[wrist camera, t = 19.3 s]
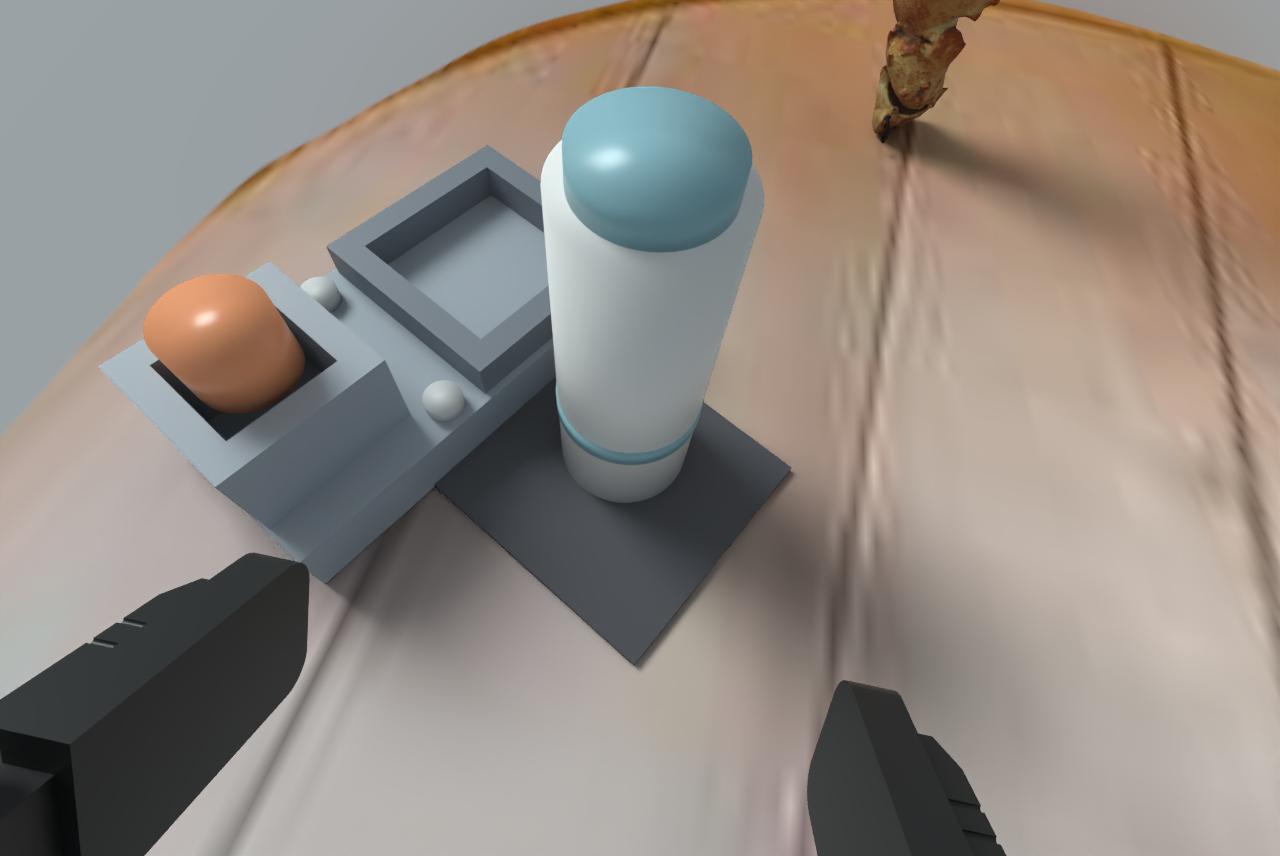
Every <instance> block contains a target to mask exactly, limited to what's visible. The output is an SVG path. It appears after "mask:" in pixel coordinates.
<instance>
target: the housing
mask: <svg viewBox="0 0 1280 856" xmlns="http://www.w3.org/2000/svg"><path fill="white" fill-rule="evenodd" d="M540 184H541V181H539V180H538V179H536V178H535V177H533V176H532V175H530V174H529V173H528V172H526V171H525V170H523V169H522V168H520V167H519V166H517V165H516V164H515V163H513V162H512V161H510V160H509V159H507V158H506V157H504V156H503V155H502V154H500V153H499V152H497V151H496V150H494V149H493V148H491V147H490V146H488V145H487V146H485V147H484V148H482V149H480V150H479V151H477V152H476V153H474V154H472V155H471V156H469V157H468V158H466V159H465V160H463V161H461V162H460V163H458V164H457V165H455V166H453V167H452V168H450V169H449V170H447V171H445V172H444V173H442V174H441V175H439V176H437V177H436V178H434V179H433V180H431V181H429V182H428V183H426V184H425V185H423V186H421V187H420V188H418V189H417V190H415V191H413V192H412V193H410V194H409V195H407V196H405V197H404V198H402V199H401V200H399V201H398V202H396V203H394V204H393V205H391V206H390V207H388V208H386V209H385V210H383V211H382V212H380V213H378V214H377V215H375V216H374V217H372V218H370V219H369V220H367V221H366V222H364V223H362V224H361V225H359V226H358V227H356V228H354V229H353V230H351V231H350V232H348V233H346V234H345V235H343V236H342V237H340V238H339V239H337V240H335V241H334V242H332V243H331V244H329V245H327V246H326V247H327V249H328V251H329V253H330V255H331V257H332V259H333V261H334V264H335V266H336V268H335V269H334V270H332V271H331V272H329V273H328V274H326V275H325V276H323V277H314V278H311V279H308V280H306V281H305V282H304V283H303V284H302V285H301V286H300V287H299V286H298V285H297V284H296V283H295V282H294V281H292V280H291V279H290V278H289V277H288V276H287V275H285V274H284V273H283V272H282V271H281V270H280V269H278V268H277V267H276V266H275V265H274V264H273V263H271V262H270V261H269V262H268V263H266V264H265V265H263V266H261V267H260V268H258V269H256V270H255V271H253V272H252V273H250V274H248V275H247V276H245V278H247V279H250V280H252V281H254V282H255V283H257V284H258V285H259V286H261V287H262V288H263V289H264V291H265V292H266V294H267V295H268V297H269V298H270V300H271V301H272V303H273V304H274V306H275V307H276V309H277V310H278V312H279V313H280V315H281V316H282V318H283V319H284V321H285V322H286V324H287V326H288V327H289V329H290V330H291V332H292V333H293V335H294V336H295V338H296V339H297V341H298V342H299V344H300V345H301V347H302V349H303V352H304V356H305V367H304V371H303V374H302V377H301V379H300V380H299V382H298V384H297V385H296V386H295V388H294V389H293V390H292V391H291V392H290V393H289V394H288V395H287V396H286V397H284V398H283V399H282V400H280V401H279V402H277V403H275V404H273V405H272V406H270V407H267V408H265V409H262V410H259V411H255V412H251V413H244V414H230V413H224V412H220V411H217V410H214V409H212V408H210V407H209V406H207V405H206V404H204V403H203V402H202V401H201V400H200V399H199V398H198V397H197V396H196V395H195V394H194V393H193V392H192V391H191V390H190V389H189V388H188V387H187V386H186V385H185V384H184V383H183V382H182V381H181V380H179V379H178V378H177V377H176V376H175V375H174V374H173V373H172V372H171V371H170V370H169V369H168V368H167V367H166V366H165V365H164V364H163V363H162V362H161V361H160V360H159V359H158V358H157V357H156V356H155V355H154V354H153V353H152V352H151V351H150V350H149V348H148V346H147V345H146V343H145V339H142V340H140V341H139V342H137V343H135V344H134V345H132V346H131V347H129V348H127V349H126V350H124V351H122V352H121V353H119V354H118V355H116V356H114V357H113V358H111V359H109V360H108V361H106V362H104V363H103V364H101V365H100V366H98V367H99V368H100V369H101V370H102V371H103V372H104V373H105V374H106V375H107V376H108V377H109V378H110V379H111V380H112V382H113V383H114V384H115V385H116V386H117V387H118V388H119V389H120V390H121V391H122V392H123V393H124V394H125V395H126V396H127V397H128V398H129V399H130V400H131V401H132V402H133V403H134V404H135V405H136V406H137V407H138V408H139V409H140V410H141V411H142V413H143V414H144V415H145V416H146V417H147V418H148V419H149V420H150V421H151V422H152V423H153V424H154V425H155V426H156V427H157V428H158V429H159V430H160V431H161V432H162V433H163V434H164V435H165V436H166V437H167V438H168V439H169V440H170V441H171V442H172V443H173V445H174V446H175V447H176V448H177V449H178V450H179V451H180V452H181V453H182V454H183V455H184V456H185V457H186V458H187V459H188V460H189V461H190V462H191V463H192V464H193V465H194V466H195V467H196V468H197V469H198V470H199V471H200V472H201V473H202V474H203V476H204V477H205V478H206V479H207V480H208V481H209V482H210V483H211V484H212V485H213V486H214V487H215V488H216V489H218V490H219V491H220V492H222V493H223V494H224V495H226V496H227V497H228V498H229V499H231V500H232V501H233V502H235V503H236V504H237V505H238V506H240V507H241V508H242V509H244V510H245V511H246V512H247V513H249V514H250V515H251V516H252V517H253V518H254V519H255V520H256V521H257V522H258V523H259V524H260V525H261V526H262V527H263V528H264V529H265V531H266V532H267V533H268V534H269V535H270V536H271V537H272V538H273V539H274V540H275V541H276V542H277V543H278V544H279V545H280V546H281V547H282V548H283V549H284V550H285V551H286V552H287V553H288V554H289V555H290V556H291V557H292V558H293V559H294V560H295V561H296V562H300V563H303V564H305V565H306V566H307V568H308V571H309V572H310V573H311V574H313V575H314V576H315V577H317V578H318V579H319V580H321V581H322V582H323V583H325V584H326V583H327V582H328V581H329V580H331V579H332V578H333V577H334V576H335V575H336V574H337V573H338V572H340V571H341V570H342V569H343V568H344V567H345V566H346V565H347V564H349V563H350V562H351V561H352V560H353V559H354V558H355V557H356V556H358V555H359V554H360V553H361V552H362V551H363V550H364V549H365V548H367V547H368V546H369V545H370V544H371V543H372V542H373V541H374V540H376V539H377V538H378V537H379V536H380V535H381V534H382V533H383V532H385V531H386V530H387V529H388V528H389V527H390V526H391V525H392V524H394V523H395V522H396V521H397V520H398V519H399V518H400V517H401V516H403V515H404V514H405V513H406V512H407V511H408V510H409V509H410V508H412V507H413V506H414V505H415V504H416V503H417V502H418V501H419V500H421V499H422V498H423V497H424V496H425V495H426V494H427V493H428V492H430V491H431V490H432V489H433V488H434V487H435V483H436V482H437V481H439V480H440V479H441V478H442V477H443V476H444V475H445V474H446V473H448V472H449V471H450V470H451V469H452V468H453V467H454V466H456V465H457V464H458V463H459V462H460V461H461V460H462V459H463V458H465V457H466V456H467V455H468V454H469V453H470V452H471V451H472V450H474V449H475V448H476V447H477V446H478V445H479V444H480V443H481V442H483V441H484V440H485V439H486V438H487V437H488V436H489V435H490V434H492V433H493V432H494V431H495V430H496V429H497V428H498V427H499V426H501V425H502V424H503V423H504V422H505V421H506V420H507V419H509V418H510V417H511V416H512V415H513V414H514V413H515V412H516V411H518V410H519V409H520V408H521V407H522V406H523V405H524V404H525V403H527V402H528V401H529V400H530V399H531V398H532V397H533V396H534V395H536V394H537V393H538V392H539V391H540V390H541V389H542V388H543V387H545V386H546V385H547V384H548V383H549V382H550V381H551V380H552V379H554V378H555V377H556V370H555V358H554V345H553V333H552V321H551V309H550V296H549V284H548V272H547V260H546V247H545V235H544V223H543V211H542V198H541V186H540Z"/></svg>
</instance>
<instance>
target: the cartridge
mask: <svg viewBox="0 0 1280 856" xmlns="http://www.w3.org/2000/svg"><path fill="white" fill-rule="evenodd" d="M540 186H541V198H542V211H543V223H544V235H545V247H546V260H547V272H548V284H549V296H550V309H551V321H552V333H553V345H554V358H555V370H556V400H557V410H558V414H559V419H560V431H561V443H562V454H563V459H564V462H565V465H566V467H567V470H568V471H569V473H570V475H571V476H572V477H573V479H574V480H575V481H576V482H577V483H578V484H579V485H580V486H581V487H582V488H583V489H585V490H586V491H587V492H589V493H590V494H592V495H594V496H596V497H598V498H601V499H603V500H607V501H611V502H618V503H633V502H639V501H643V500H646V499H649V498H652V497H654V496H656V495H658V494H659V493H661V492H662V491H664V490H665V489H666V488H667V487H668V486H670V485H671V484H672V482H673V481H674V480H675V479H676V477H677V476H678V474H679V472H680V470H681V468H682V465H683V463H684V459H685V456H686V453H687V450H688V447H689V444H690V440H691V437H692V434H693V431H694V430H695V428H696V425H697V423H698V420H699V417H700V414H701V411H702V406H703V402H704V396H705V393H706V390H707V387H708V384H709V380H710V377H711V374H712V371H713V368H714V365H715V361H716V358H717V355H718V352H719V349H720V346H721V342H722V339H723V336H724V333H725V330H726V327H727V324H728V320H729V317H730V314H731V311H732V308H733V305H734V301H735V298H736V295H737V292H738V289H739V286H740V282H741V279H742V276H743V273H744V270H745V267H746V263H747V260H748V257H749V254H750V251H751V248H752V245H753V241H754V238H755V235H756V232H757V229H758V226H759V222H760V219H761V216H762V212H763V207H764V192H763V185H762V182H761V179H760V176H759V174H758V172H757V170H756V168H755V166H754V165H753V163H752V150H751V146H750V143H749V140H748V138H747V136H746V134H745V132H744V130H743V129H742V128H741V126H740V125H739V124H738V122H737V121H736V120H735V119H734V118H733V117H732V116H731V115H729V114H728V113H727V112H726V111H724V110H723V109H722V108H720V107H719V106H717V105H716V104H714V103H712V102H710V101H708V100H706V99H704V98H702V97H699V96H697V95H694V94H691V93H688V92H685V91H681V90H676V89H671V88H664V87H651V86H644V87H630V88H624V89H619V90H614V91H611V92H608V93H605V94H602V95H600V96H598V97H595V98H594V99H592V100H590V101H588V102H587V103H585V104H584V105H583V106H582V107H580V108H579V109H578V110H577V111H576V112H575V113H574V114H573V115H572V117H571V118H570V120H569V121H568V123H567V125H566V127H565V129H564V132H563V136H562V140H561V141H560V142H559V143H558V144H557V145H556V146H555V147H554V148H553V150H552V151H551V153H550V154H549V155H548V157H547V160H546V162H545V164H544V167H543V170H542V174H541V184H540Z"/></svg>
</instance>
